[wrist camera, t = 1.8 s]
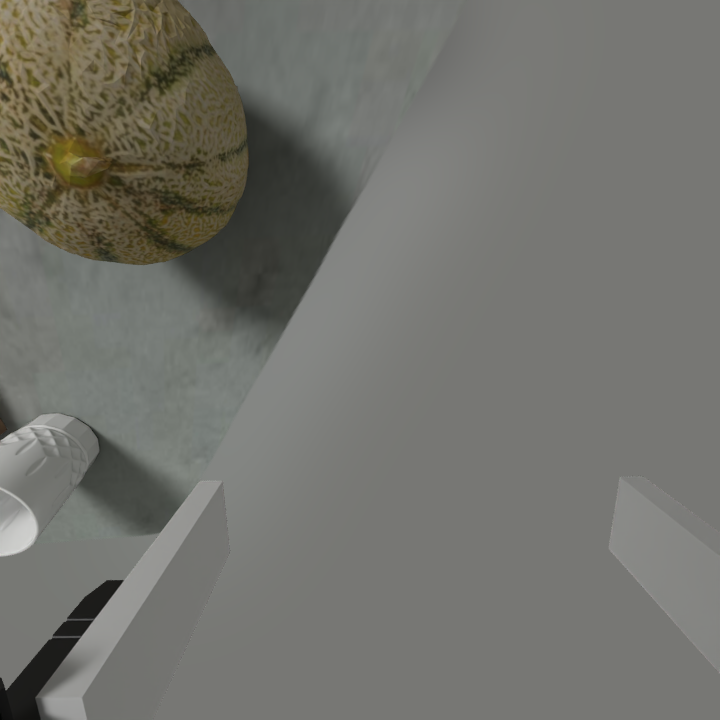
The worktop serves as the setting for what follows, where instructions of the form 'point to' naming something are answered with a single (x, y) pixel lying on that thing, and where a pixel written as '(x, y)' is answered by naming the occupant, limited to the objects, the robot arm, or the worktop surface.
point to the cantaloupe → (117, 128)
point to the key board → (2, 427)
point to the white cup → (40, 475)
